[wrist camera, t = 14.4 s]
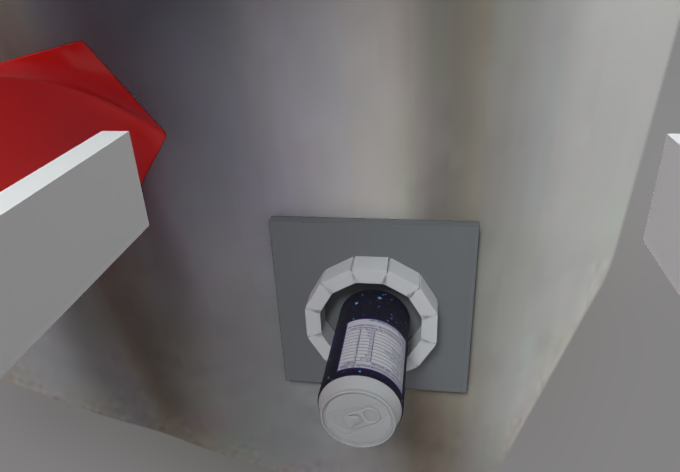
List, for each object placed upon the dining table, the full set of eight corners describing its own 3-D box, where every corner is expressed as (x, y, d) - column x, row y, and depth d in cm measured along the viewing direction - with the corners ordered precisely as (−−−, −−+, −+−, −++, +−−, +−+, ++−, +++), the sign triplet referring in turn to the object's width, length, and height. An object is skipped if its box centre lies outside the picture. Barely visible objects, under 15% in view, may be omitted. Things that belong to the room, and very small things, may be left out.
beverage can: (329, 297, 48) (297, 401, 37) (391, 273, 46) (376, 376, 35) (361, 348, 50) (340, 460, 39) (422, 327, 48) (417, 440, 37)
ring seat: (288, 372, 53) (280, 395, 51) (272, 215, 46) (262, 233, 43) (465, 384, 51) (467, 409, 48) (478, 221, 44) (481, 240, 41)
